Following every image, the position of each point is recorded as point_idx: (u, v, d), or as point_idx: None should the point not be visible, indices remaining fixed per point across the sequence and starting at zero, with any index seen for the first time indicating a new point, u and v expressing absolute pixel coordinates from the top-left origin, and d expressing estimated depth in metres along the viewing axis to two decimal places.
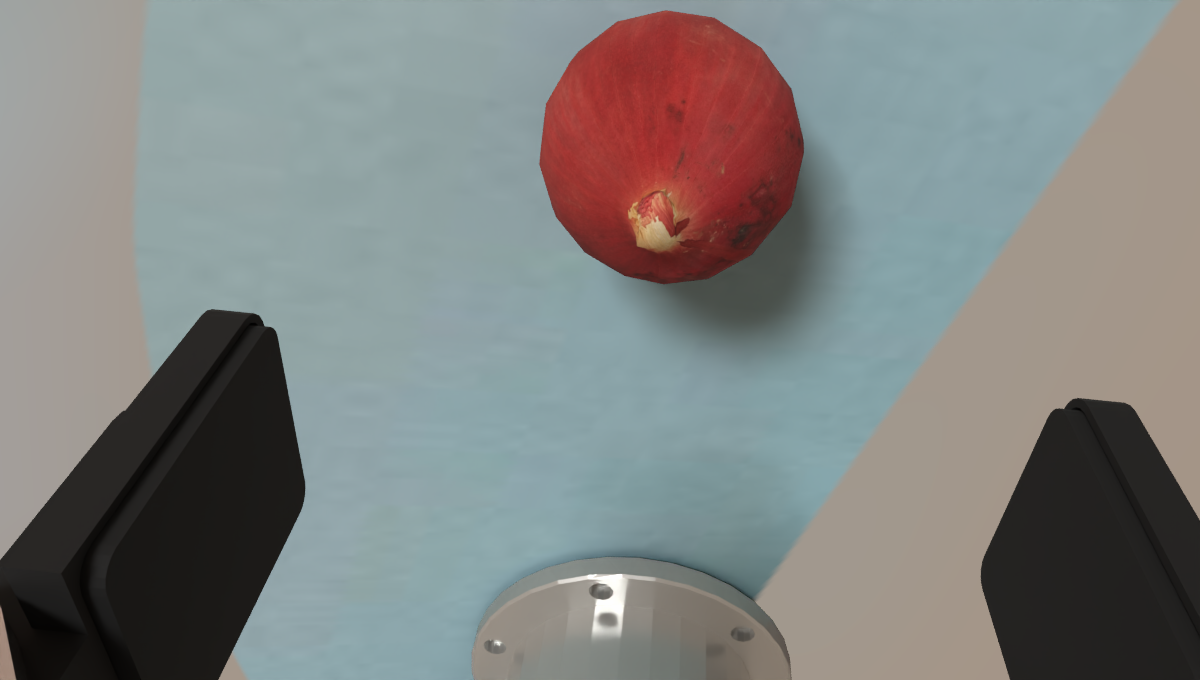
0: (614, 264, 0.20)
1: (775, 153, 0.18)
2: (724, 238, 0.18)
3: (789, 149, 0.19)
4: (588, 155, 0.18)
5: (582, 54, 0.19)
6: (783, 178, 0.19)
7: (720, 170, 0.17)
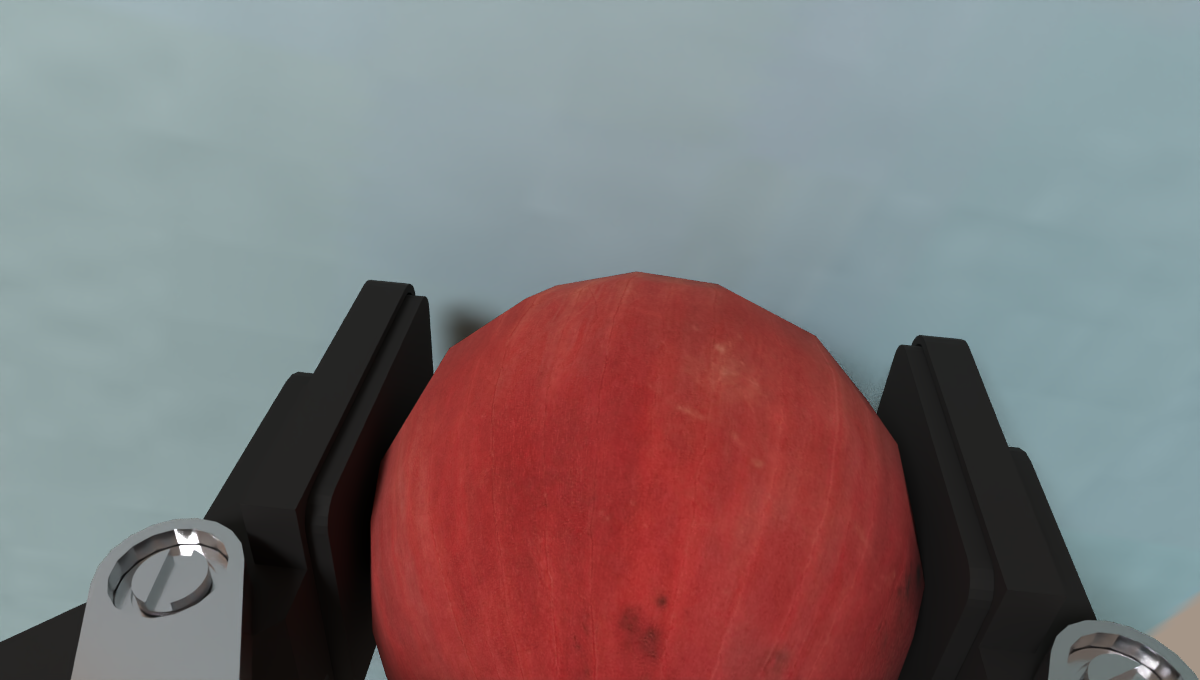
0: None
1: (876, 659, 0.08)
2: None
3: (903, 619, 0.08)
4: None
5: (443, 389, 0.09)
6: None
7: None
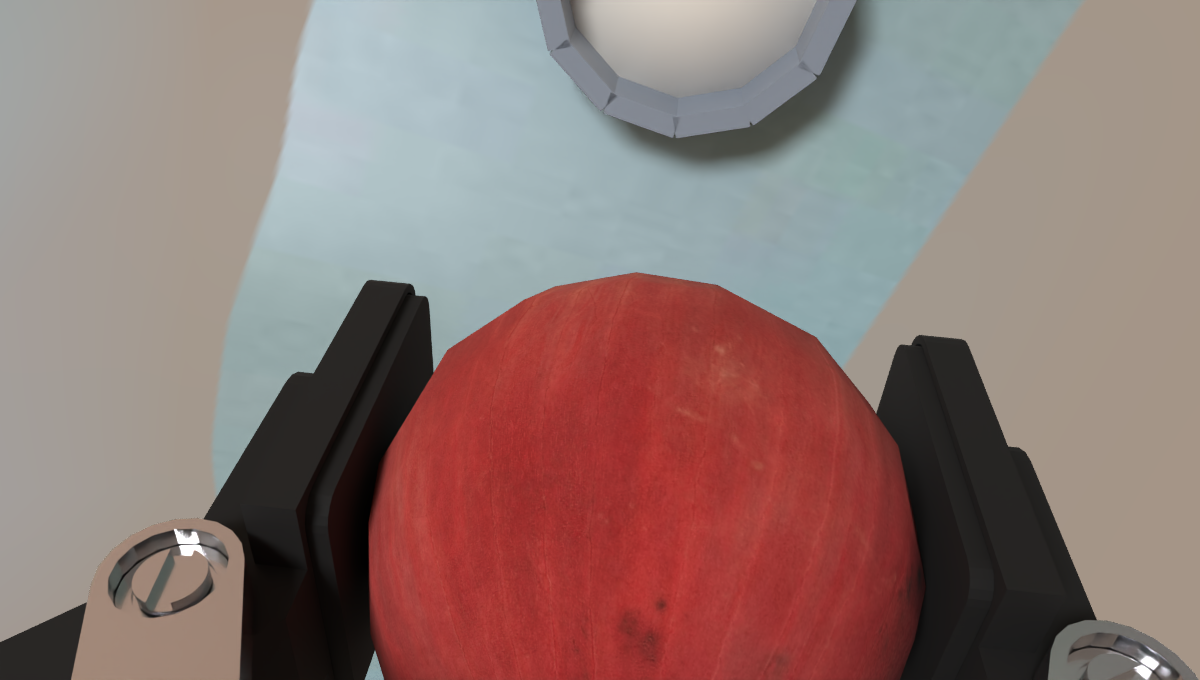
0: None
1: (877, 662, 0.08)
2: None
3: (905, 622, 0.08)
4: None
5: (441, 391, 0.09)
6: None
7: None
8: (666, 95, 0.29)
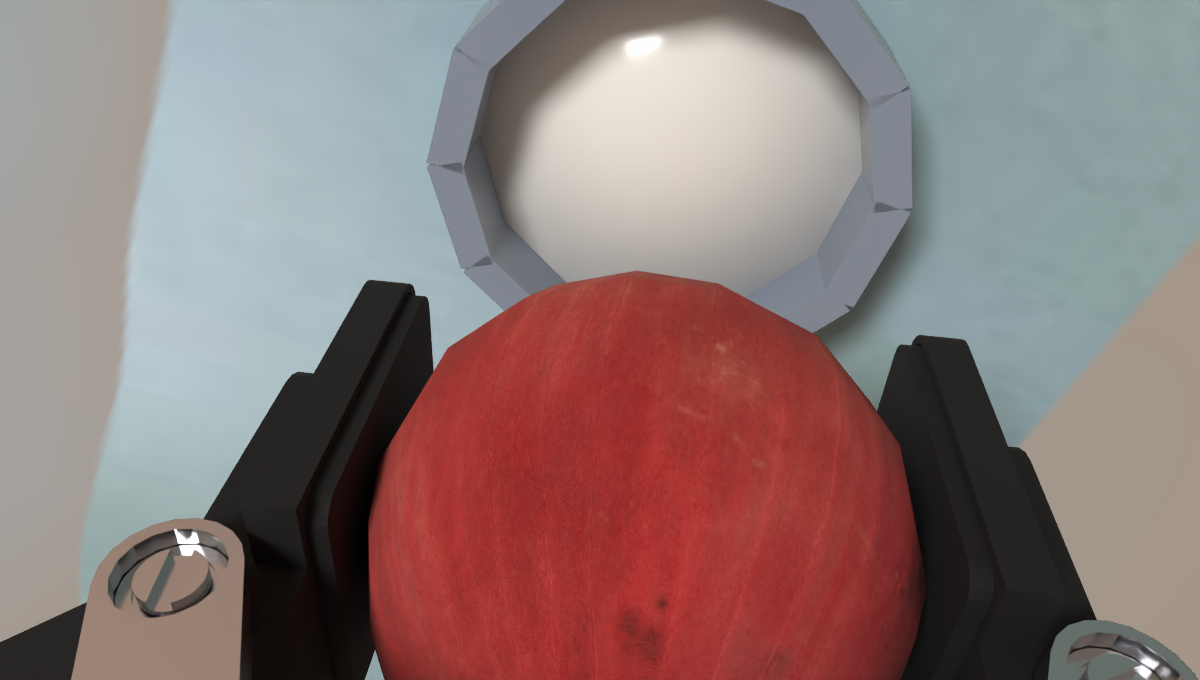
0: None
1: (879, 660, 0.08)
2: None
3: (907, 622, 0.08)
4: None
5: (441, 389, 0.09)
6: None
7: None
8: None
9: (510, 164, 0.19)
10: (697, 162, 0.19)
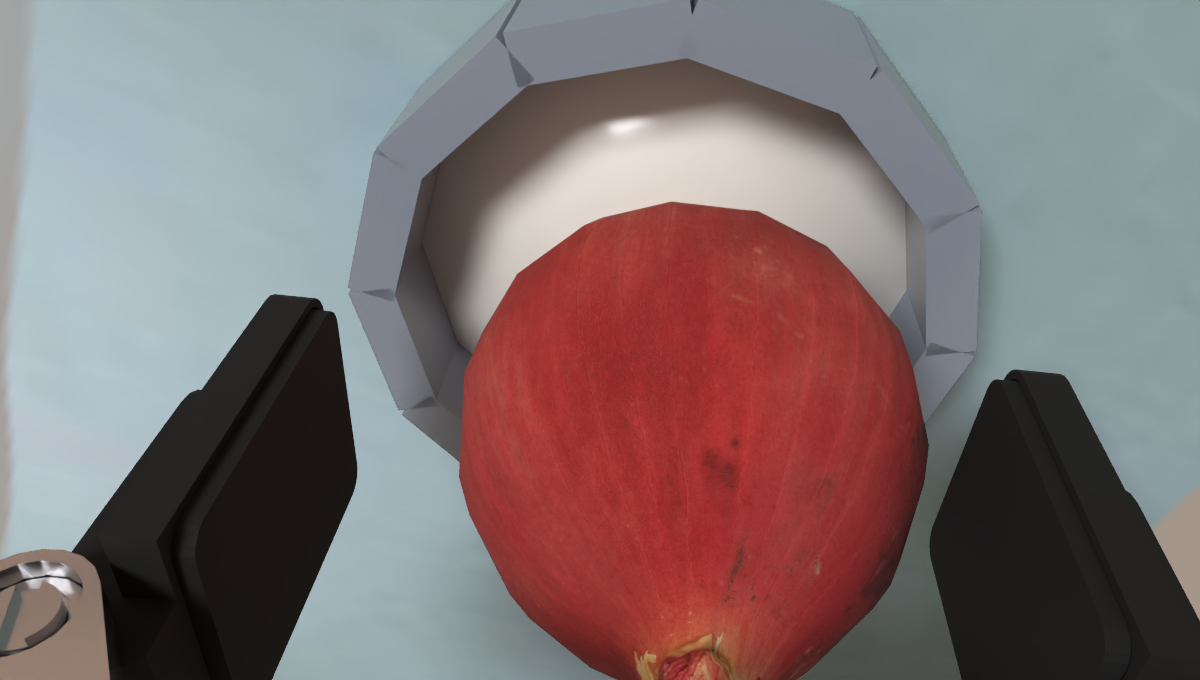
0: None
1: (898, 494, 0.10)
2: (814, 661, 0.10)
3: (917, 466, 0.10)
4: (549, 533, 0.09)
5: (524, 301, 0.10)
6: (908, 518, 0.10)
7: (813, 569, 0.09)
8: None
9: (461, 276, 0.15)
10: None
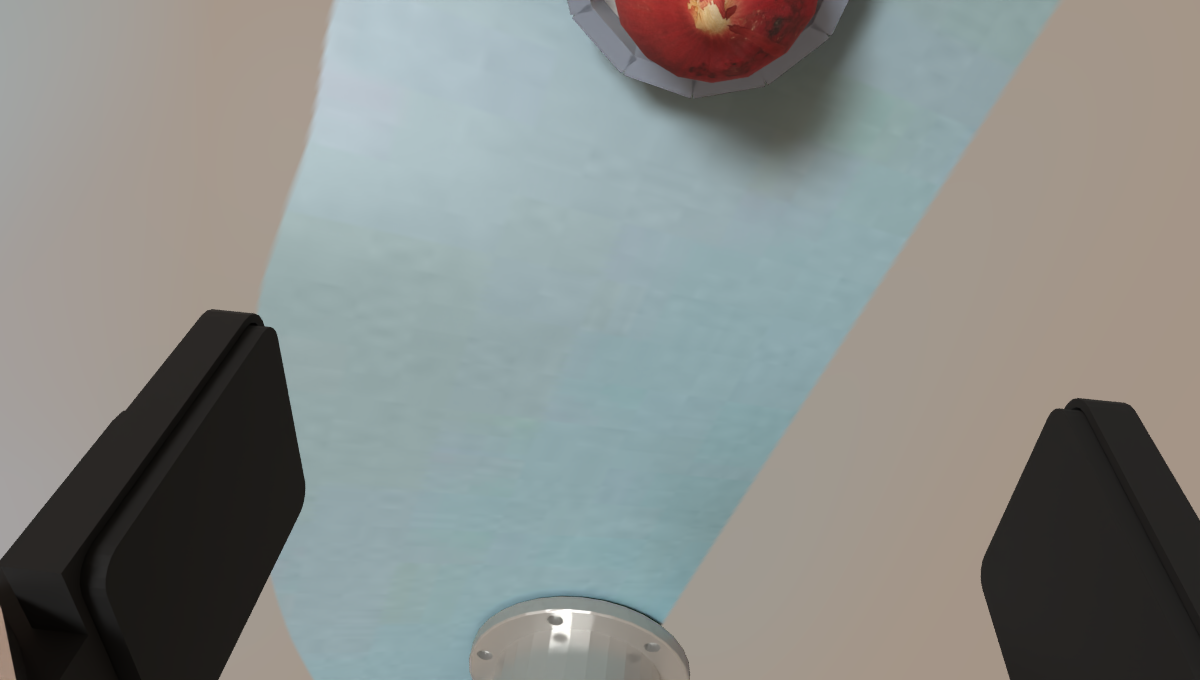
0: (673, 60, 0.24)
1: None
2: (763, 29, 0.23)
3: None
4: None
5: None
6: None
7: None
8: None
9: None
10: None
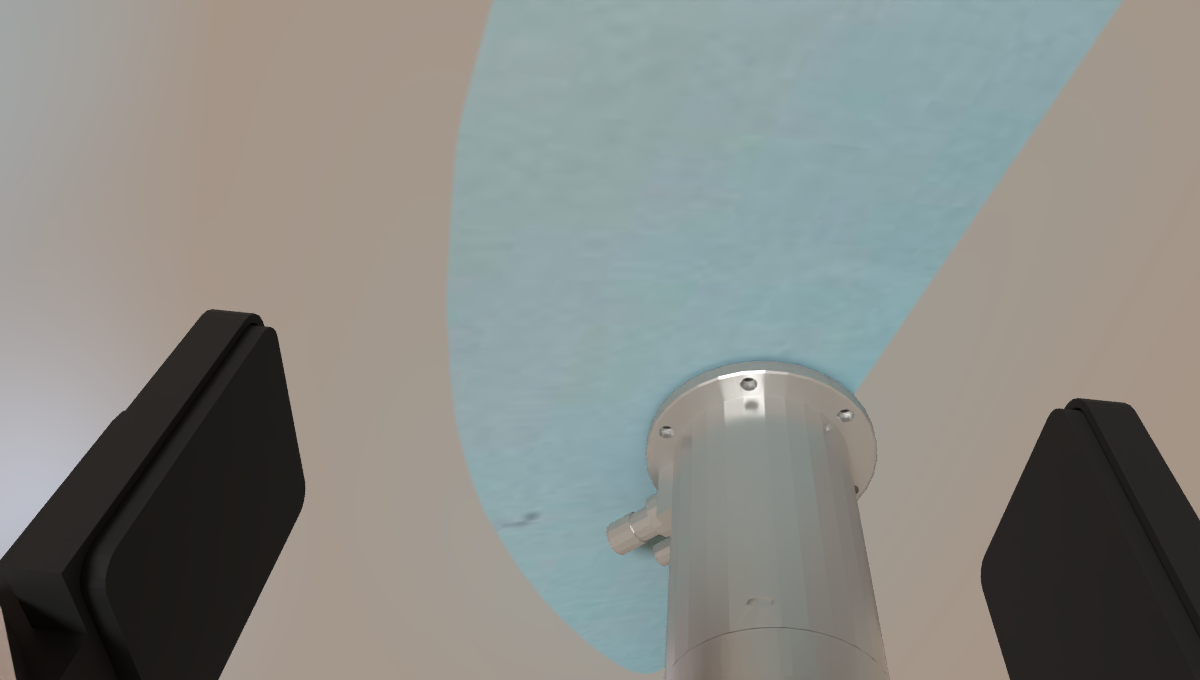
0: None
1: None
2: None
3: None
4: None
5: None
6: None
7: None
8: None
9: None
10: None
